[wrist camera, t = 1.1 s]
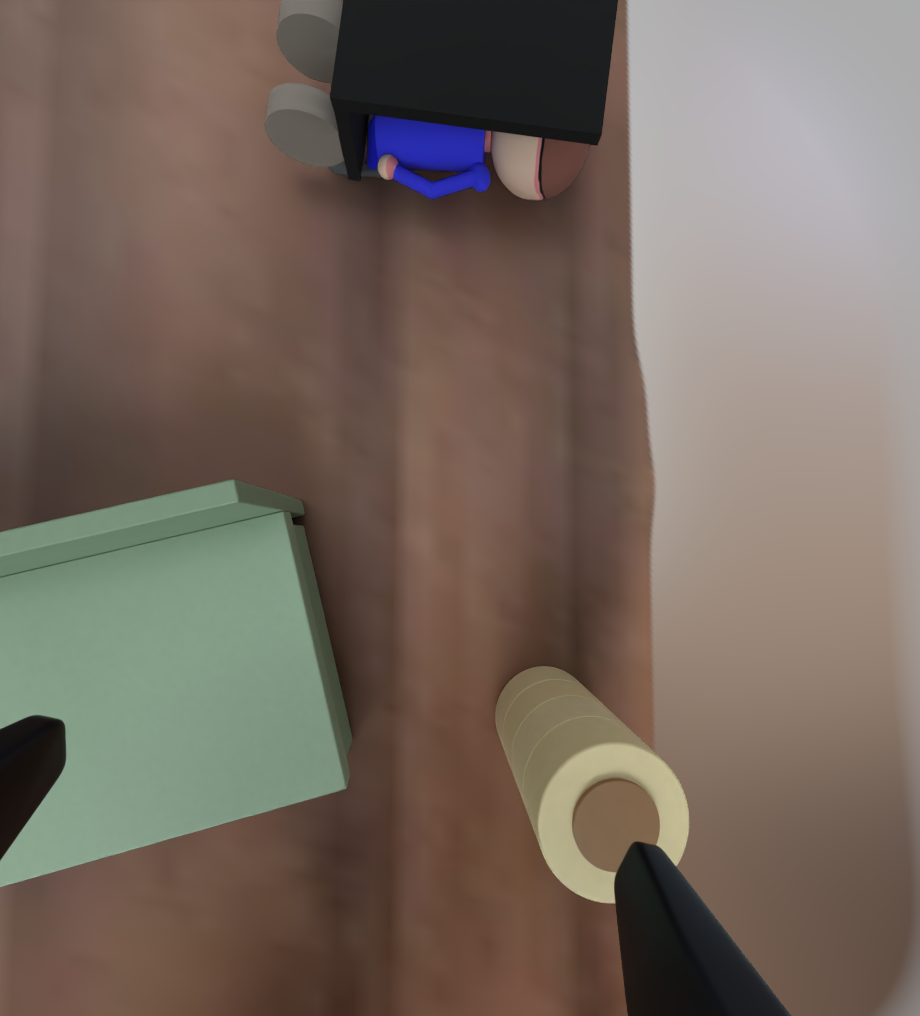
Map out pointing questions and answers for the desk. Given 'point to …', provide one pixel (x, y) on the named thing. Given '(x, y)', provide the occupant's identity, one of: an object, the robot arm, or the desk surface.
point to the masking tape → (586, 781)
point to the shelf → (168, 669)
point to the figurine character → (445, 90)
